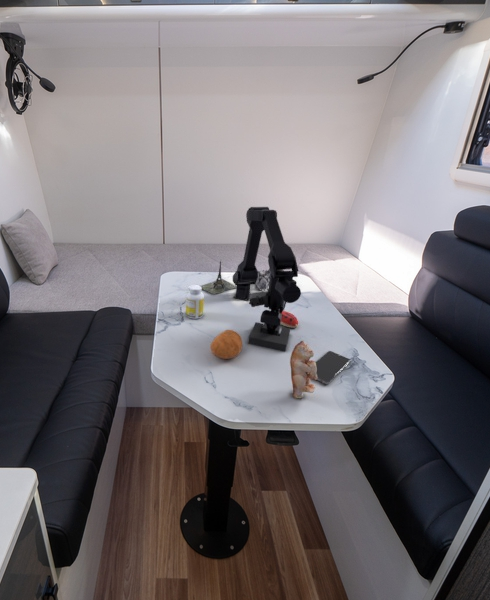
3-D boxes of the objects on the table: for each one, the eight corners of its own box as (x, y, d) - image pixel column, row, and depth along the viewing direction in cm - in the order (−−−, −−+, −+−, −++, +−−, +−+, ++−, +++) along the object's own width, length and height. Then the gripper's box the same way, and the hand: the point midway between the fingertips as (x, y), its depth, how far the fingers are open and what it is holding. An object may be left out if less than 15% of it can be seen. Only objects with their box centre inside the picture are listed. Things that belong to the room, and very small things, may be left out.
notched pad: (254, 328, 132) (255, 322, 131) (289, 335, 128) (290, 328, 127) (248, 343, 123) (248, 337, 122) (285, 351, 119) (286, 344, 118)
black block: (263, 330, 131) (265, 320, 129) (278, 333, 129) (280, 323, 127) (260, 337, 126) (262, 327, 125) (276, 341, 125) (278, 330, 123)
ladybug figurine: (283, 315, 142) (285, 307, 140) (303, 326, 134) (305, 318, 132) (270, 319, 138) (271, 310, 137) (289, 331, 131) (291, 322, 129)
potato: (248, 354, 117) (251, 334, 114) (225, 368, 110) (227, 347, 107) (226, 342, 123) (227, 323, 120) (203, 355, 116) (204, 335, 113)
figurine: (310, 405, 97) (320, 357, 90) (281, 394, 100) (289, 347, 94) (315, 392, 102) (326, 345, 95) (288, 382, 105) (296, 336, 99)
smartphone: (303, 371, 108) (329, 349, 118) (303, 374, 109) (328, 352, 119) (328, 383, 103) (352, 359, 113) (327, 386, 104) (351, 362, 114)
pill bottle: (203, 312, 143) (204, 284, 138) (202, 320, 137) (204, 291, 132) (186, 310, 143) (187, 283, 138) (184, 318, 138) (185, 290, 133)
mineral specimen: (266, 288, 155) (267, 264, 157) (246, 289, 161) (247, 267, 163) (279, 293, 164) (280, 271, 166) (260, 294, 170) (261, 273, 172)
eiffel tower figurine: (222, 280, 172) (224, 252, 166) (238, 287, 165) (241, 258, 159) (197, 287, 164) (199, 258, 158) (213, 295, 157) (215, 265, 151)
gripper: (258, 273, 131) (253, 312, 138) (246, 296, 115) (242, 338, 123) (290, 278, 127) (284, 318, 134) (283, 302, 112) (276, 345, 119)
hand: (271, 329), depth 128 cm, fingers open, 7 cm apart
